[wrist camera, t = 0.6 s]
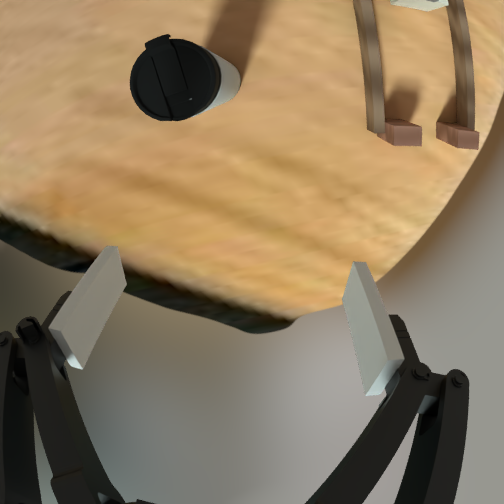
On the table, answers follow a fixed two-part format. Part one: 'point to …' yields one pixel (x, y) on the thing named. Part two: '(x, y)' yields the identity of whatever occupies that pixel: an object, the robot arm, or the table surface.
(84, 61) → the table surface
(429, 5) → the block
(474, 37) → the table surface
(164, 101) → the travel mug
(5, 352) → the robot arm
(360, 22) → the guide
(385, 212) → the table surface
